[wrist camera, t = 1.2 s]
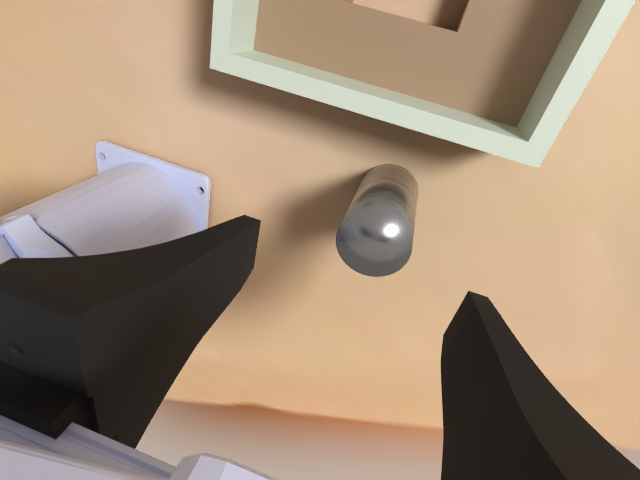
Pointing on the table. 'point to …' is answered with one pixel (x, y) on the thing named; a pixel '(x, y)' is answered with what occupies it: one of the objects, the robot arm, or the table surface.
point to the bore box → (428, 63)
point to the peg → (380, 222)
